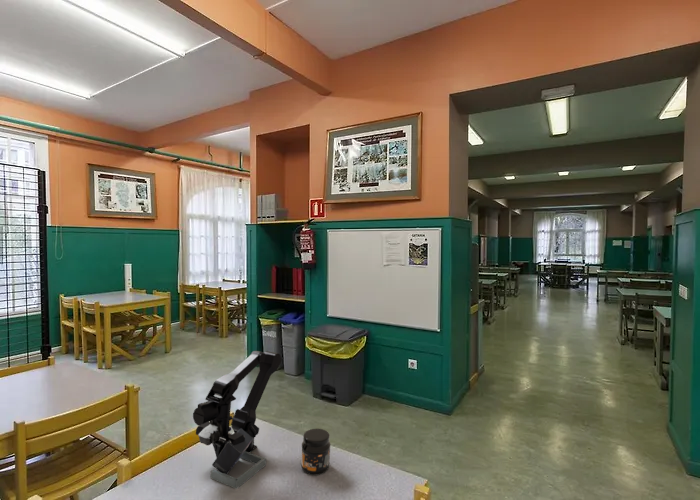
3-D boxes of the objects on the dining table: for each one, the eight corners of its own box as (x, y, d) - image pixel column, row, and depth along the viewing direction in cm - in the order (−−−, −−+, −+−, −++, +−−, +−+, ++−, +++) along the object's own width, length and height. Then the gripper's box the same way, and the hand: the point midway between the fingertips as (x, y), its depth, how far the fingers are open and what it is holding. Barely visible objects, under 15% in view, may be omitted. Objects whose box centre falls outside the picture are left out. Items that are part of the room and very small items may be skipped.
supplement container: (294, 468, 130) (295, 435, 130) (314, 456, 139) (315, 424, 139) (316, 480, 124) (317, 445, 124) (335, 466, 132) (336, 433, 132)
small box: (225, 477, 124) (241, 453, 123) (210, 465, 125) (226, 441, 124) (239, 460, 134) (254, 438, 133) (226, 449, 135) (240, 427, 134)
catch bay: (241, 456, 136) (241, 449, 136) (265, 465, 132) (266, 458, 132) (210, 478, 123) (211, 470, 123) (236, 488, 118) (237, 481, 118)
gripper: (185, 416, 128) (181, 460, 127) (224, 431, 120) (220, 478, 119) (209, 405, 138) (206, 446, 138) (247, 418, 130) (243, 462, 129)
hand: (218, 457), depth 131 cm, fingers closed
